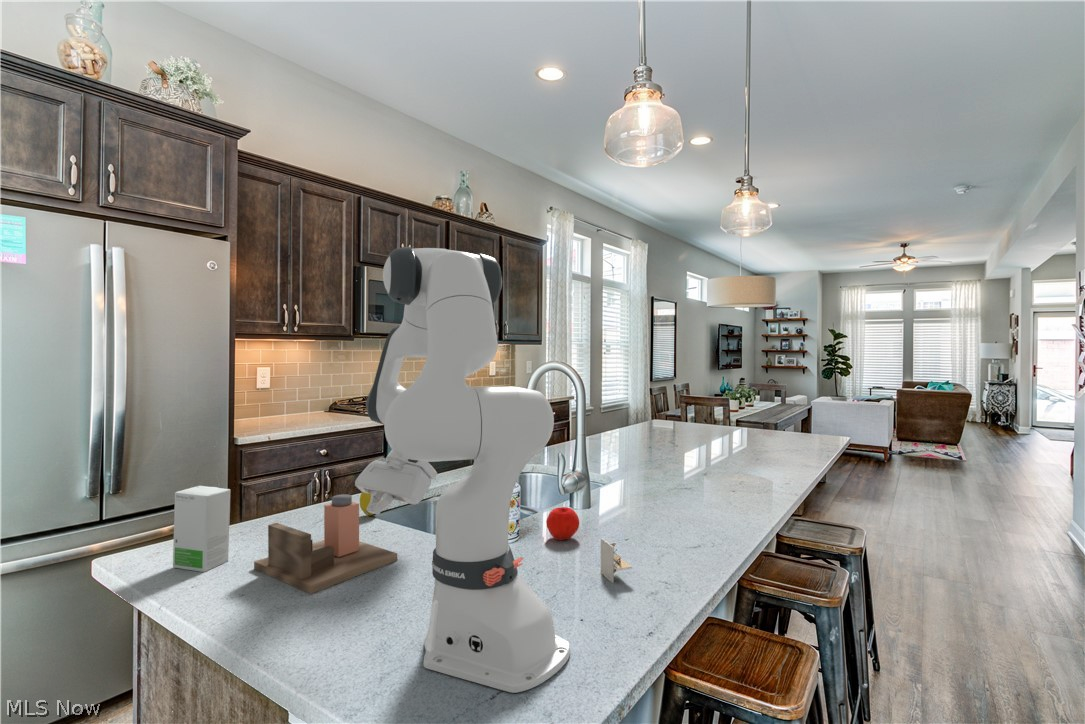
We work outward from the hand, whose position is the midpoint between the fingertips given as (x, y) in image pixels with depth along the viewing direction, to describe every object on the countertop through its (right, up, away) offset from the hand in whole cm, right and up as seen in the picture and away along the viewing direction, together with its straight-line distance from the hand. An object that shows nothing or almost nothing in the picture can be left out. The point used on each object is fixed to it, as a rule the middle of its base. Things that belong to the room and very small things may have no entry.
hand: (371, 512), depth 124 cm
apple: (+43, -9, +8) cm, 44 cm away
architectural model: (+52, -9, -15) cm, 55 cm away
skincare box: (-32, -9, -9) cm, 35 cm away
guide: (-7, -8, -9) cm, 14 cm away
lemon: (-8, -8, +25) cm, 28 cm away
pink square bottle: (-4, -7, -6) cm, 10 cm away
